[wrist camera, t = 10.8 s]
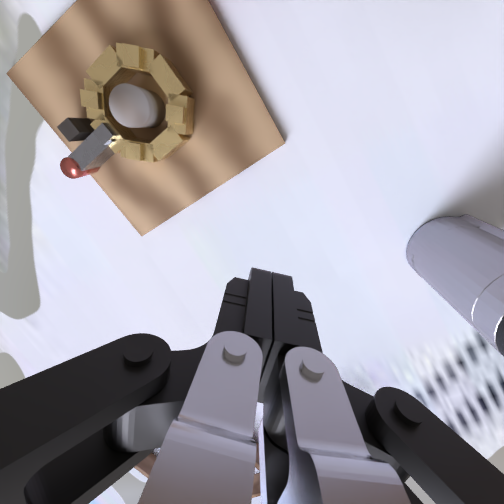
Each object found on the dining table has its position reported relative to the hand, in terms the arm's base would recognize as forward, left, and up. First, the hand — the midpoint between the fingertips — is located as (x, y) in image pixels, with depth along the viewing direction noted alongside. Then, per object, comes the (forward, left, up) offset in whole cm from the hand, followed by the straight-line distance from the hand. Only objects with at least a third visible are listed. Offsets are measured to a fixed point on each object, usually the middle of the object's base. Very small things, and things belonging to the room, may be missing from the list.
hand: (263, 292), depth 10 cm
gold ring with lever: (+11, -14, -28) cm, 33 cm away
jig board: (+8, -14, -29) cm, 33 cm away
